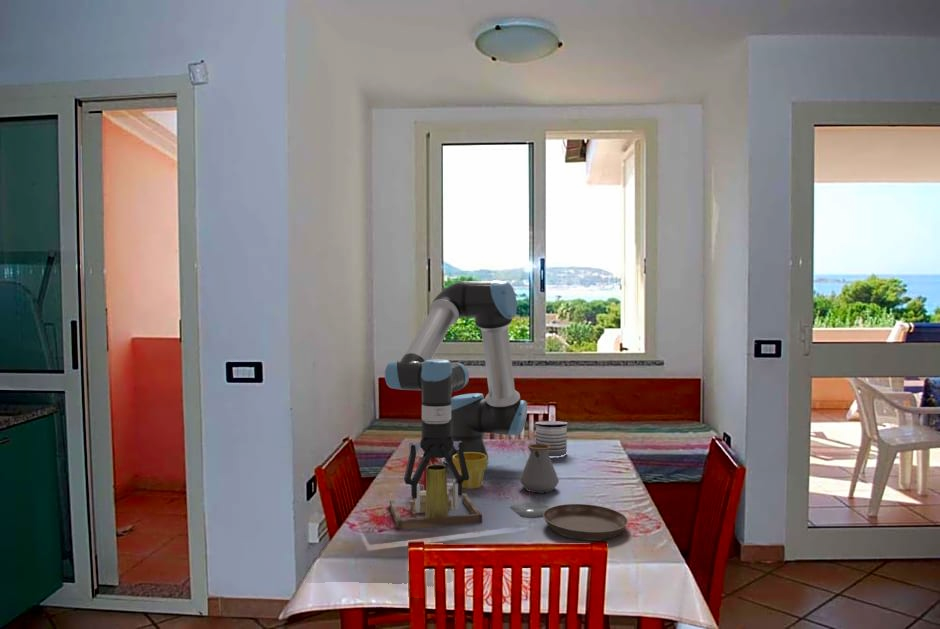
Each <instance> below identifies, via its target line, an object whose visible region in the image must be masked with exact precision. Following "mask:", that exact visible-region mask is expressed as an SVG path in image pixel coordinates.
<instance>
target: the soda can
mask: <svg viewBox="0 0 940 629" xmlns="http://www.w3.org/2000/svg"><path fill="white" fill-rule="evenodd" d="M423 454H424V452H423V453H421V454H419V458H418V459H417V466H416V469H417V468H418V466H419V464H420V461H421V459H422V456H423ZM429 465H443V461H442V458H435V459H431V458H430V460H429V462H428V463H427V465H426V467H427V466H429ZM426 467H425V469H424V471H423V474H422V476H421V478H420V480H419V482H418V484H419V486H420V491H426Z"/></svg>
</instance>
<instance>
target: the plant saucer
mask: <svg viewBox="0 0 940 629" xmlns="http://www.w3.org/2000/svg"><path fill="white" fill-rule="evenodd" d="M542 517H543V520H544V521H545V522H546V524H547V525H548V527H549V528H551V530H553V531H554V532H555V533H557V534H559V535H560V536H563V537H566V538H569V539H574V540H578V541H579V540H580V541H581V540H582V541H602V539H604V540H608V538H609V539H612V538H615V537H616V536H618V535H619V534H620V533H621V532H623V531H624V529H625V528H626V527H627V525H628V523H629V521H628V518H627V517H626V516H625V514H623V513H621V512H620V511H617V510H615V509H612V508H609V507H605V506H601V505H595V504H586V503H585V504H583V503H568V504H567V503H566V504H560V505H556V506H555V505H554V506H551V507H549V509H547V510H546V511H545V512H544V513H543V516H542Z"/></svg>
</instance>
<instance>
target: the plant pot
mask: <svg viewBox="0 0 940 629" xmlns="http://www.w3.org/2000/svg"><path fill="white" fill-rule="evenodd" d="M464 457H465V462H466V466H467V470H468V474H469V479H468V480H465V481H463V483H462V489H477V488H481V487H482V485H483V481H484V474H485V469H487V467H488V463H487V456H486V455H485V454H482V453H477V452H464ZM452 461H453V463H454V465H455V467H456V469H457V471H458V473H459V475H462V472H461V467H460V463H459V459H458V454H455V455H453V457H452Z"/></svg>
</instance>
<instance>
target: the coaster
mask: <svg viewBox="0 0 940 629" xmlns="http://www.w3.org/2000/svg"><path fill="white" fill-rule="evenodd" d="M509 508H510V510H512V511H513V512H514V513H515V514H517V515H518V516H519V517H522V518H541V517H543V513H544V512H545V511H546V510H547V509H549V508H550V507H549V506H548V505H546V504H543V503H539V502H530V501H529V502H528V501H527V502H517V503H514V504H512V505H510V506H509Z"/></svg>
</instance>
